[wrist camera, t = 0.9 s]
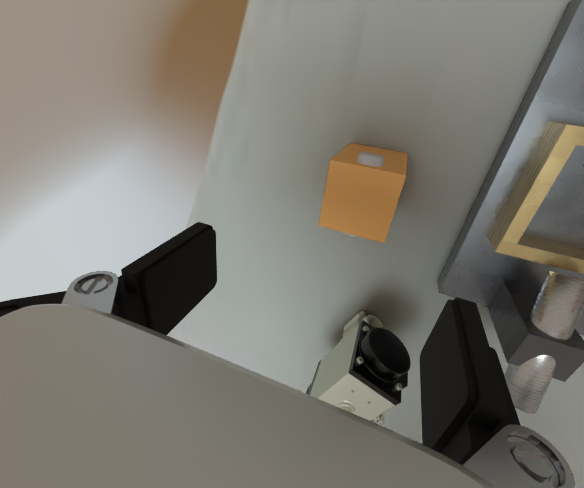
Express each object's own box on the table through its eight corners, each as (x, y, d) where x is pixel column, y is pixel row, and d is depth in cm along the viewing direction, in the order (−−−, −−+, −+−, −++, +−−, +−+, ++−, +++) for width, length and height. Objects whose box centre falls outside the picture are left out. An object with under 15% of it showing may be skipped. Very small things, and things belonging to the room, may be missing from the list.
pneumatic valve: (323, 339, 38) (292, 426, 28) (376, 284, 32) (360, 372, 22) (358, 363, 38) (339, 459, 28) (418, 312, 31) (422, 415, 21)
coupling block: (389, 211, 28) (382, 249, 21) (338, 199, 29) (317, 231, 22) (409, 147, 24) (408, 167, 18) (352, 137, 26) (331, 152, 19)
